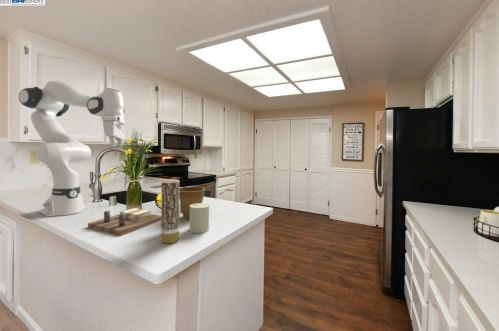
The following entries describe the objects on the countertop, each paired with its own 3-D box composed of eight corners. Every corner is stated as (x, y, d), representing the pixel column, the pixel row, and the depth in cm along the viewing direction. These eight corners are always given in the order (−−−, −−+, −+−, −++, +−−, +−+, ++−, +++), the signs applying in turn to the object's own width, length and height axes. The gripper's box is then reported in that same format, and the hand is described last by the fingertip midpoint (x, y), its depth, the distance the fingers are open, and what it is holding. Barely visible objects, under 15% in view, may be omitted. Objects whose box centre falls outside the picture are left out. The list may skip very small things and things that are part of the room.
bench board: (87, 227, 102) (87, 212, 102) (132, 214, 125) (132, 201, 124) (121, 235, 94) (121, 219, 94) (162, 219, 116) (162, 206, 116)
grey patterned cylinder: (173, 245, 87) (173, 182, 85) (157, 243, 88) (157, 181, 86) (182, 238, 93) (182, 179, 91) (167, 236, 95) (167, 178, 93)
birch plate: (120, 217, 112) (120, 211, 112) (133, 213, 119) (133, 207, 119) (137, 220, 107) (137, 214, 107) (150, 216, 115) (150, 210, 115)
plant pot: (197, 212, 132) (198, 185, 131) (208, 218, 120) (209, 189, 119) (172, 215, 124) (172, 187, 122) (181, 223, 112) (181, 192, 110)
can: (198, 224, 110) (198, 201, 110) (213, 228, 106) (213, 203, 105) (185, 230, 102) (185, 205, 101) (200, 234, 98) (200, 208, 97)
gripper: (114, 124, 123) (116, 149, 123) (100, 116, 103) (101, 145, 103) (127, 124, 124) (128, 149, 124) (115, 116, 104) (116, 145, 104)
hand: (116, 147), depth 113 cm, fingers open, 8 cm apart
